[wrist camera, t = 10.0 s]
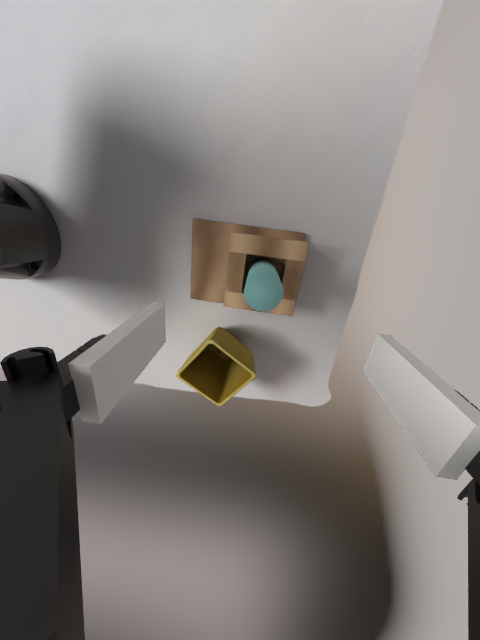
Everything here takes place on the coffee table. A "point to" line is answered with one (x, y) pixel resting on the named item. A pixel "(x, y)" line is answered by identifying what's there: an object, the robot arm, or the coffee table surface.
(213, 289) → the socket board
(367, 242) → the coffee table surface
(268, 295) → the peg
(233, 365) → the flower pot
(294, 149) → the coffee table surface
